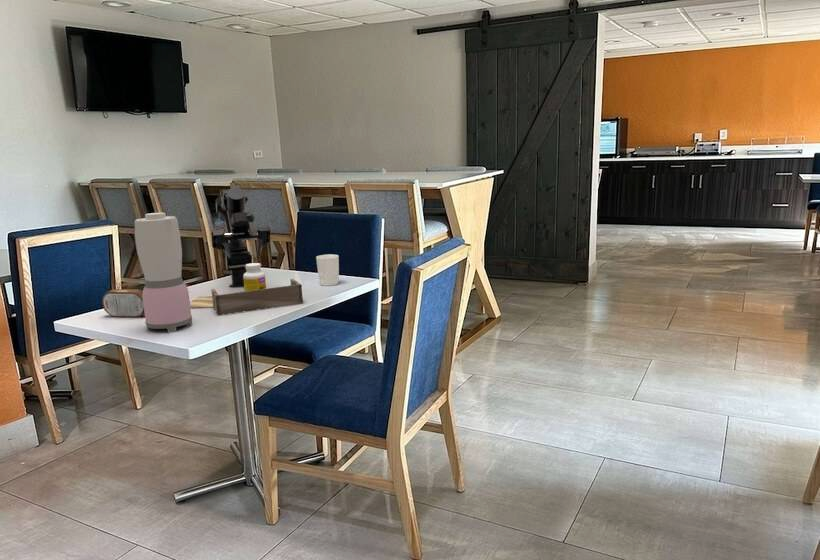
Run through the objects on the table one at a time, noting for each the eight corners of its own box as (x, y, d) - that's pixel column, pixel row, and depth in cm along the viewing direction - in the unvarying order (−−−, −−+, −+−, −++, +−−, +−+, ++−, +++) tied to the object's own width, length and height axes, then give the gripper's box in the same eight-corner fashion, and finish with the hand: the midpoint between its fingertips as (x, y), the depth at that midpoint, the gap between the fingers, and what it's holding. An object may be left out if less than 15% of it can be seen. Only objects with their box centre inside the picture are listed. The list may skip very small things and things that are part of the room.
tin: (152, 315, 189) (149, 288, 187) (146, 318, 186) (142, 291, 184) (109, 314, 192) (105, 288, 190) (102, 317, 189) (98, 290, 187)
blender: (202, 323, 177) (189, 211, 171) (166, 335, 167) (151, 216, 160) (165, 317, 185) (151, 210, 179) (129, 328, 175) (113, 215, 168)
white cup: (335, 286, 217) (333, 258, 215) (314, 286, 219) (312, 258, 217) (343, 281, 224) (341, 254, 222) (323, 281, 226) (321, 254, 224)
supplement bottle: (262, 306, 193) (258, 266, 190) (242, 306, 194) (238, 266, 192) (270, 301, 199) (267, 262, 197) (251, 301, 201) (247, 262, 198)
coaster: (198, 297, 209) (198, 296, 209) (239, 296, 208) (239, 295, 208) (181, 308, 195) (181, 307, 195) (225, 307, 194) (225, 306, 194)
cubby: (213, 307, 195) (211, 289, 193) (294, 296, 205) (293, 278, 203) (217, 315, 185) (215, 296, 184) (303, 303, 195) (301, 284, 194)
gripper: (207, 206, 199) (214, 242, 191) (266, 201, 206) (275, 236, 197) (209, 229, 208) (215, 265, 199) (265, 224, 214) (273, 259, 206)
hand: (245, 256), depth 200 cm, fingers open, 9 cm apart
